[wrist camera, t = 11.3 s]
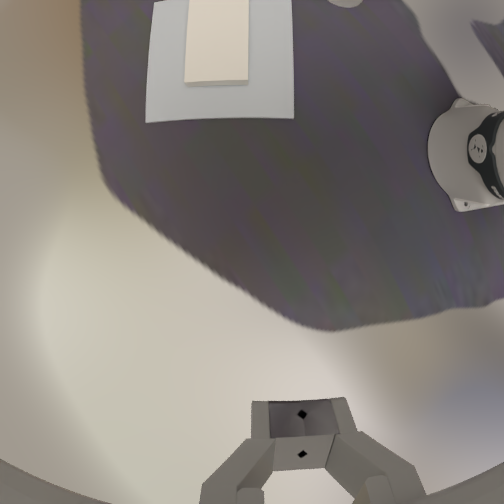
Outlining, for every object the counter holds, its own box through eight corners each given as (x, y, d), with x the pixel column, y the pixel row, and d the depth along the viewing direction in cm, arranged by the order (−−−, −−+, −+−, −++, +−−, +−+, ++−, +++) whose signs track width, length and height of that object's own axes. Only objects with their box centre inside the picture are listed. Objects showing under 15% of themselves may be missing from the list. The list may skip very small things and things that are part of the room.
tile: (248, 85, 37) (249, 1, 33) (248, 79, 34) (248, -8, 30) (188, 87, 37) (193, 4, 33) (184, 82, 34) (189, -5, 30)
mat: (290, -2, 33) (291, -5, 32) (293, 119, 39) (293, 118, 38) (155, 4, 33) (154, 2, 32) (147, 123, 39) (145, 122, 38)
